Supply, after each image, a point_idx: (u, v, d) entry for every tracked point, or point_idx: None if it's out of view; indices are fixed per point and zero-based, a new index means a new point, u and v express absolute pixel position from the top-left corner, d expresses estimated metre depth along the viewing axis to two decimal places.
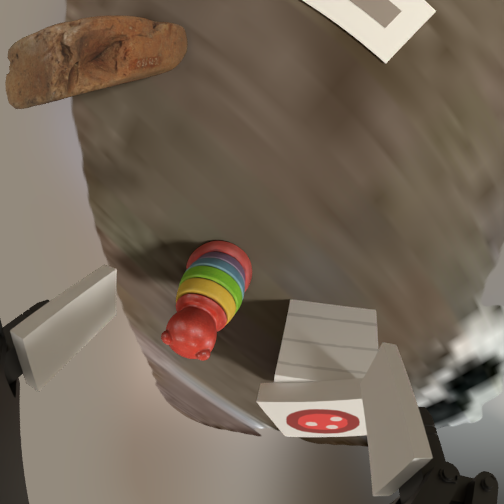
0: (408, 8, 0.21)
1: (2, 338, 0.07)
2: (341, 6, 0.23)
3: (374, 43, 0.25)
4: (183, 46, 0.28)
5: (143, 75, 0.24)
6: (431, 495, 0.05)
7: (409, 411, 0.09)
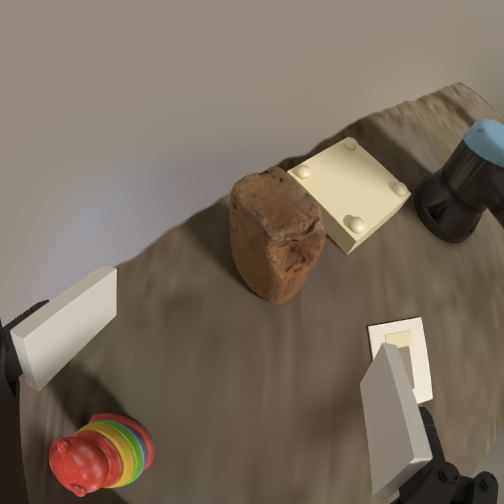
0: (419, 389, 0.39)
1: (2, 338, 0.07)
2: None
3: None
4: (289, 299, 0.43)
5: (278, 290, 0.36)
6: (431, 495, 0.05)
7: (409, 411, 0.09)
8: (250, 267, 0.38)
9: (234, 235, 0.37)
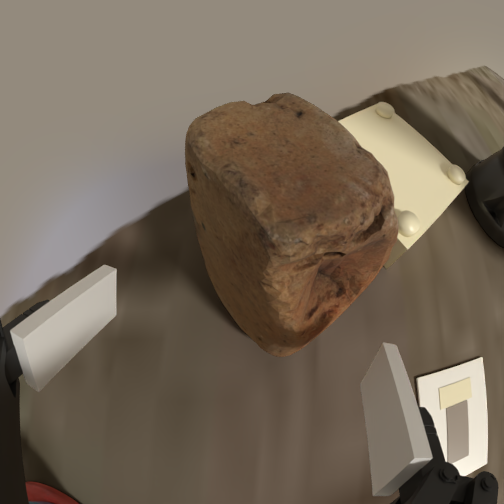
0: (473, 455, 0.21)
1: (2, 338, 0.07)
2: (438, 428, 0.23)
3: None
4: None
5: (286, 347, 0.18)
6: (431, 495, 0.05)
7: (409, 411, 0.09)
8: (234, 298, 0.20)
9: (202, 238, 0.19)
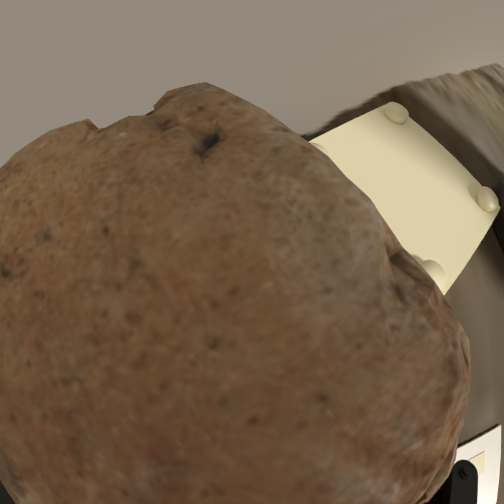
0: None
1: None
2: None
3: None
4: None
5: None
6: None
7: None
8: None
9: None
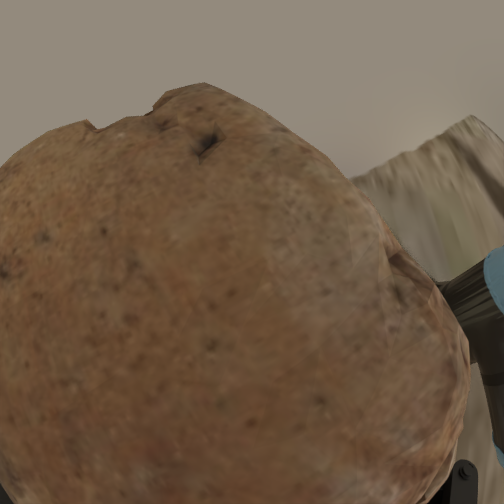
0: None
1: None
2: None
3: None
4: None
5: None
6: None
7: None
8: None
9: None
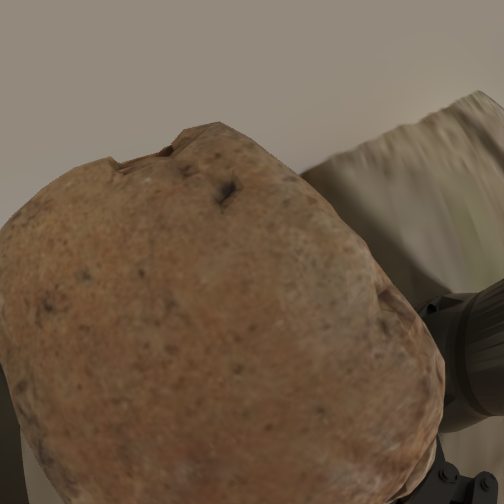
0: None
1: None
2: None
3: None
4: None
5: None
6: (431, 495, 0.05)
7: None
8: None
9: None
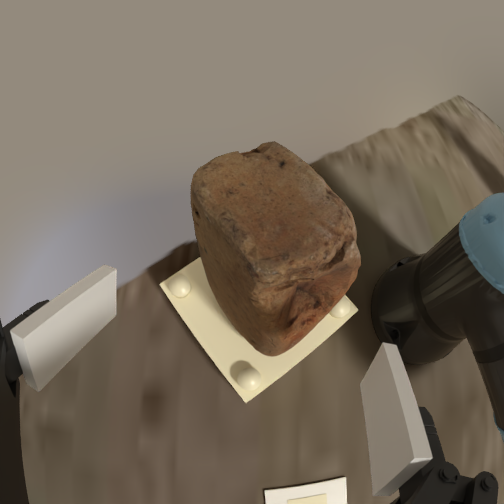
0: None
1: (2, 338, 0.07)
2: None
3: None
4: None
5: (274, 348, 0.21)
6: (431, 495, 0.05)
7: (409, 411, 0.09)
8: (231, 307, 0.24)
9: (204, 258, 0.22)
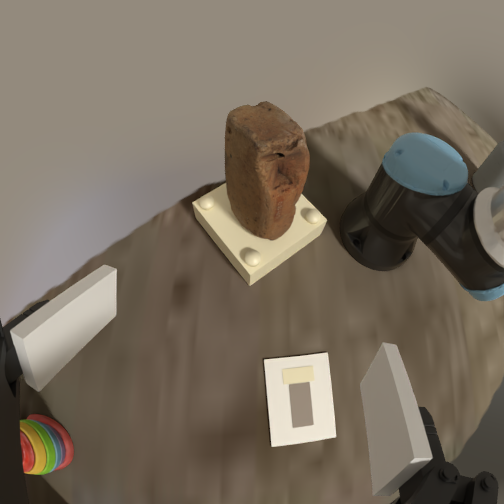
0: (319, 426, 0.40)
1: (2, 338, 0.07)
2: (281, 397, 0.42)
3: (276, 431, 0.40)
4: (280, 234, 0.46)
5: (267, 212, 0.38)
6: (431, 495, 0.05)
7: (409, 411, 0.09)
8: (243, 196, 0.41)
9: (228, 165, 0.39)
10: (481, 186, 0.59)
